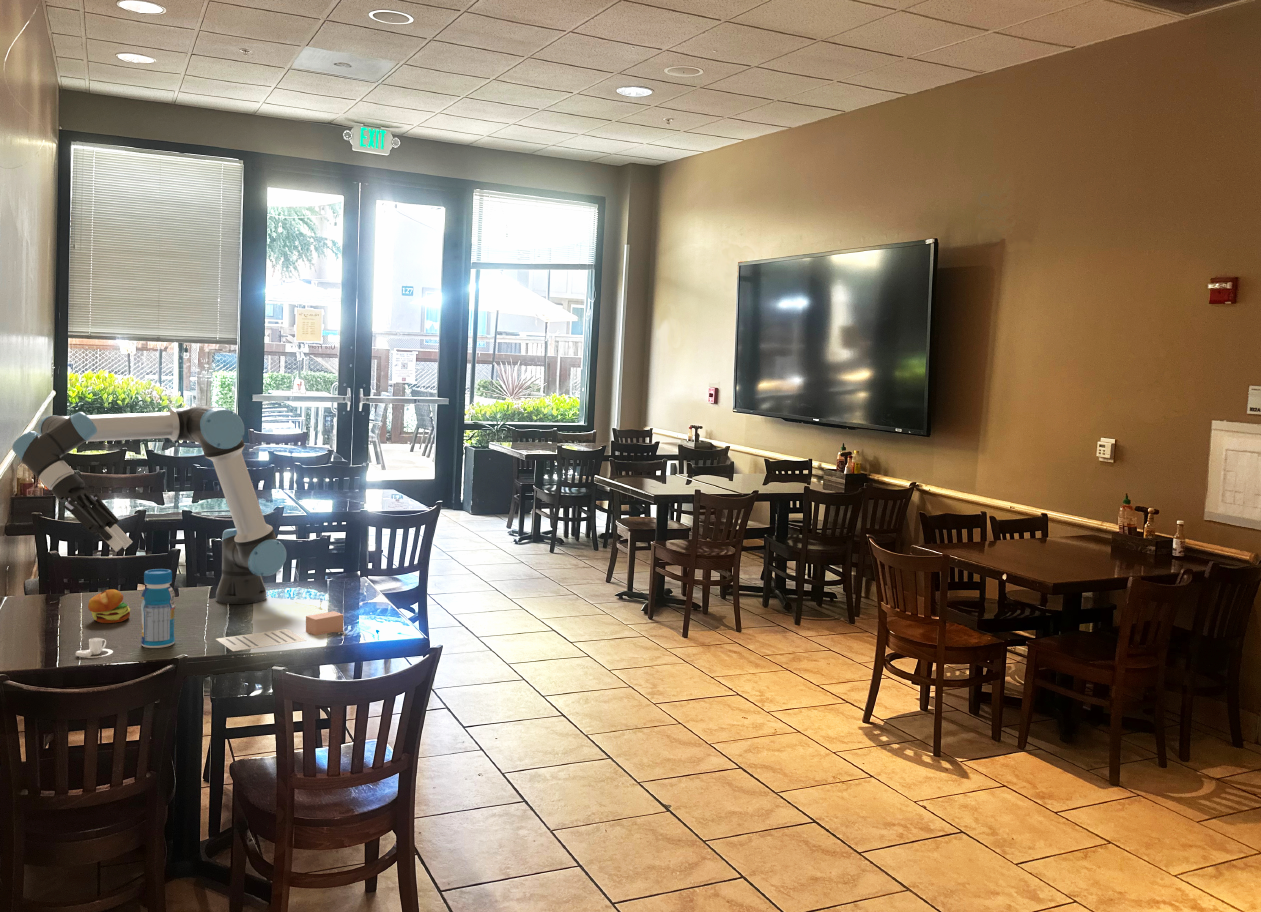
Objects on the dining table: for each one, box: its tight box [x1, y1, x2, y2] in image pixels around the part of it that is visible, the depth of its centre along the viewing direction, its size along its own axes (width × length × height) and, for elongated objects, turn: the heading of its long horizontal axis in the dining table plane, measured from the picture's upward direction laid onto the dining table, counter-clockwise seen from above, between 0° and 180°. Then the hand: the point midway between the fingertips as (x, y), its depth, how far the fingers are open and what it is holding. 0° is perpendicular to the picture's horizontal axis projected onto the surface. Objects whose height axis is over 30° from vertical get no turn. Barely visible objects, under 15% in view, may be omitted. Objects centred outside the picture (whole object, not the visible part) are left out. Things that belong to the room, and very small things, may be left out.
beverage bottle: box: [140, 568, 176, 649], centre depth 271 cm, size 8×8×20 cm
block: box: [305, 610, 344, 636], centre depth 292 cm, size 5×5×9 cm
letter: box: [215, 628, 307, 652], centre depth 280 cm, size 14×20×1 cm
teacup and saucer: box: [75, 637, 114, 659], centre depth 262 cm, size 9×8×4 cm
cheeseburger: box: [87, 588, 132, 624], centre depth 294 cm, size 10×11×10 cm
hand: (124, 546), depth 270 cm, fingers open, 3 cm apart
